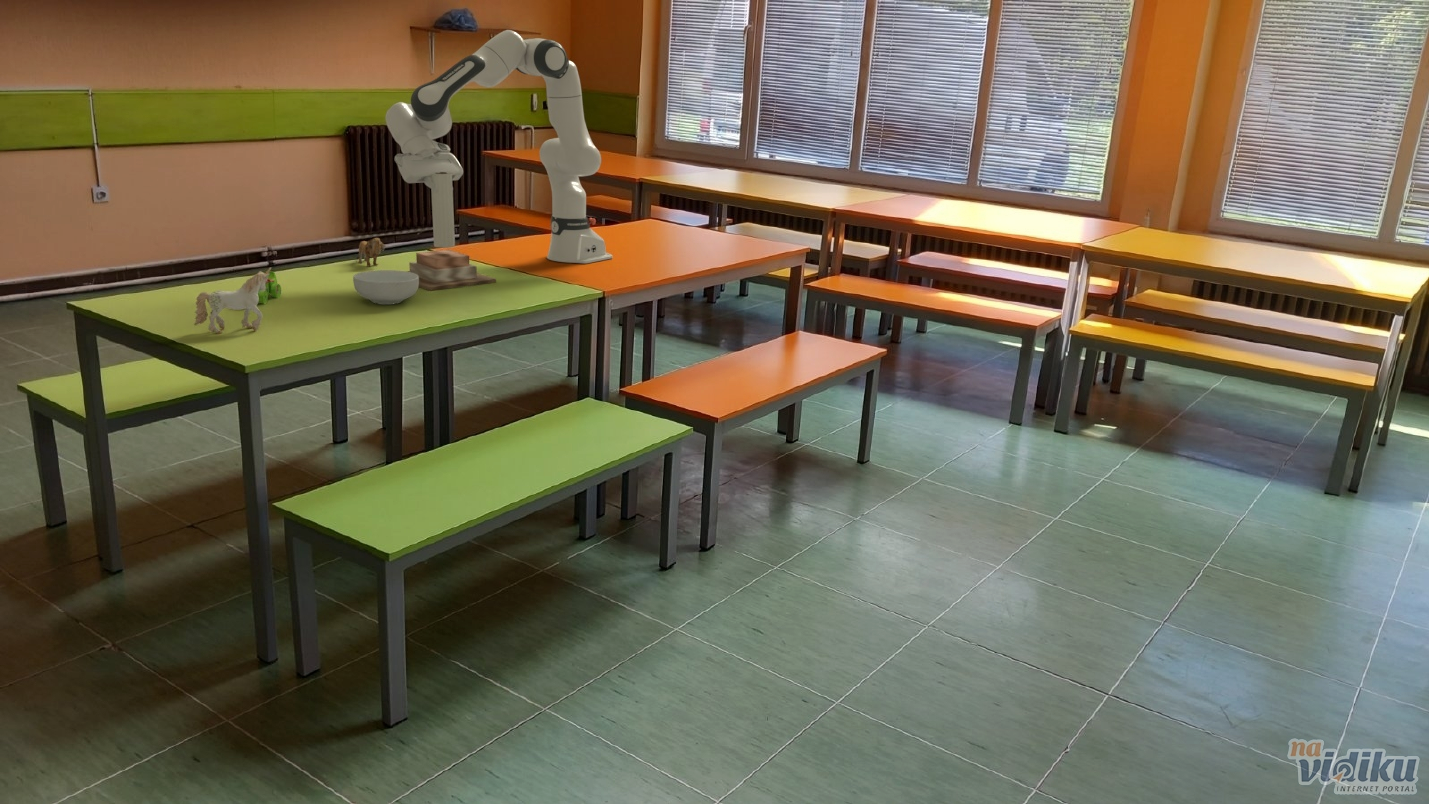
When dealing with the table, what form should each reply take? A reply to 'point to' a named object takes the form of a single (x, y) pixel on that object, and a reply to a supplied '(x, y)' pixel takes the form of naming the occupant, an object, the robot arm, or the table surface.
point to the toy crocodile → (270, 288)
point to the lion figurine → (370, 250)
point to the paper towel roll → (443, 210)
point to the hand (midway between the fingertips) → (444, 191)
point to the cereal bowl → (386, 285)
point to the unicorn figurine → (233, 303)
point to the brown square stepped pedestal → (446, 270)
